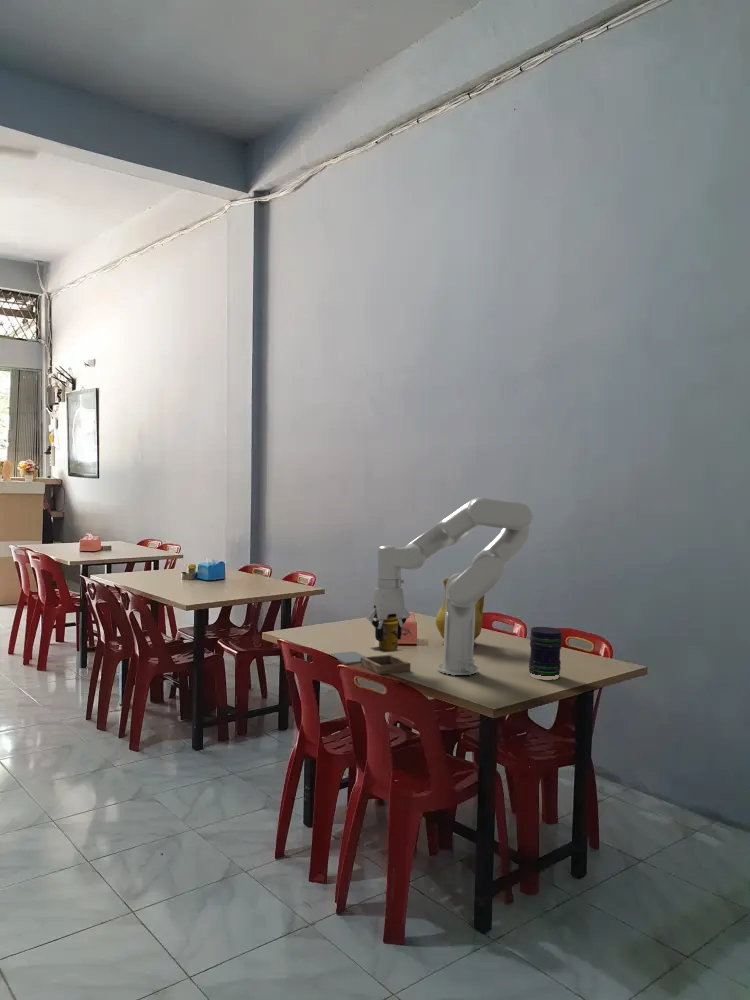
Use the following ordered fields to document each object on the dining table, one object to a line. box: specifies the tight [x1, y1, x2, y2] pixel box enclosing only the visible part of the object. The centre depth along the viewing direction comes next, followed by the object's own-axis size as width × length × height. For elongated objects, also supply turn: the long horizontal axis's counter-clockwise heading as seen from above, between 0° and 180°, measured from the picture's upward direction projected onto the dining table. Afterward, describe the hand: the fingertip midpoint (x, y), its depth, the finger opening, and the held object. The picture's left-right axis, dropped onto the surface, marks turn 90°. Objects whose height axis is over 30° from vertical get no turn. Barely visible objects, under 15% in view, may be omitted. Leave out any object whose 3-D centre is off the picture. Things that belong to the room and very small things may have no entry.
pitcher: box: [435, 575, 486, 645], centre depth 288 cm, size 17×19×25 cm
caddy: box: [360, 654, 412, 675], centre depth 249 cm, size 12×11×2 cm
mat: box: [330, 651, 366, 665], centre depth 259 cm, size 13×10×1 cm
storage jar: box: [528, 626, 563, 676], centre depth 246 cm, size 10×10×15 cm
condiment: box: [369, 614, 403, 654], centre depth 248 cm, size 7×8×12 cm
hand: (388, 639), depth 248 cm, fingers closed on condiment, 6 cm apart
